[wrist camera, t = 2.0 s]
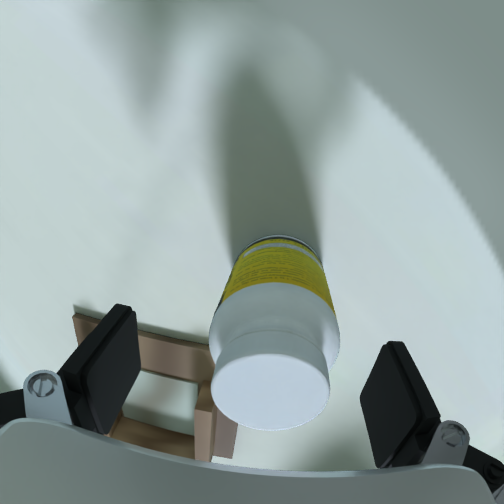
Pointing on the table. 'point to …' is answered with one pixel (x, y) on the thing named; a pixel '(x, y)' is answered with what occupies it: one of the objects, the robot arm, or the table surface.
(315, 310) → the supplement bottle
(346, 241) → the table surface
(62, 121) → the table surface
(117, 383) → the robot arm
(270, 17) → the table surface
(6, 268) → the table surface
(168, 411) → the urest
